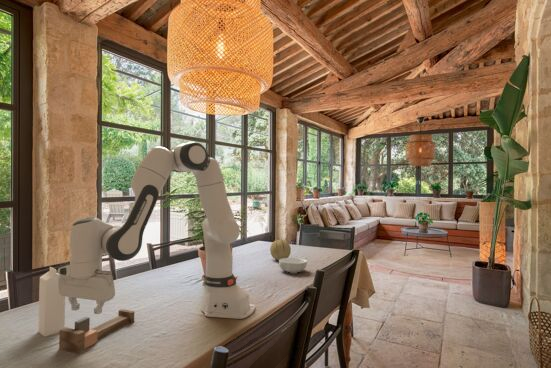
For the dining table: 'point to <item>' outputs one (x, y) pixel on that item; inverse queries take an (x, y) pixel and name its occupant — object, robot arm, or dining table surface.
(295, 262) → the cereal bowl
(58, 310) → the milk
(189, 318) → the dining table surface
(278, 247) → the cantaloupe
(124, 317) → the rail
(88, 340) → the slider
